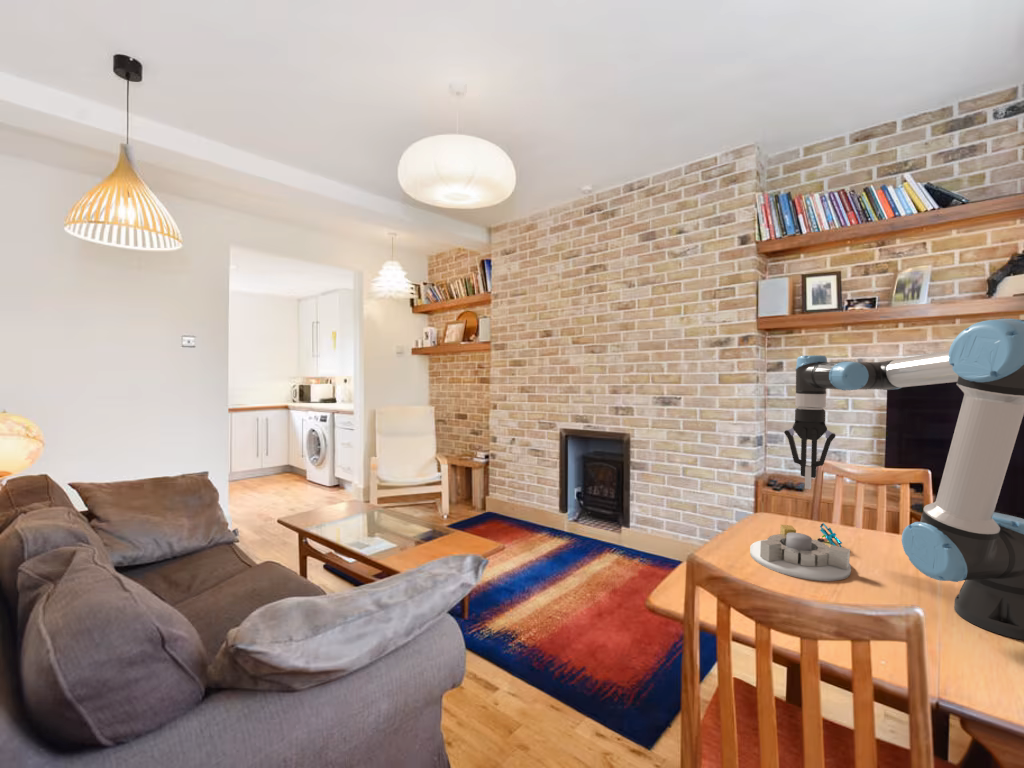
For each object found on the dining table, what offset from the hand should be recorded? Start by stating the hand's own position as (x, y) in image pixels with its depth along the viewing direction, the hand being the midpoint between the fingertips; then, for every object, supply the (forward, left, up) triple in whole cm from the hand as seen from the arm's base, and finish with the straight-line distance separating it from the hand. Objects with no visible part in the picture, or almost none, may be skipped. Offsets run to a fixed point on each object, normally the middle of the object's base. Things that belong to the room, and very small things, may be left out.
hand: (808, 488), depth 138 cm
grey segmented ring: (-6, +6, -17) cm, 19 cm away
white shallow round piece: (-8, +7, -19) cm, 21 cm away
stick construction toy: (+5, -9, -19) cm, 22 cm away
